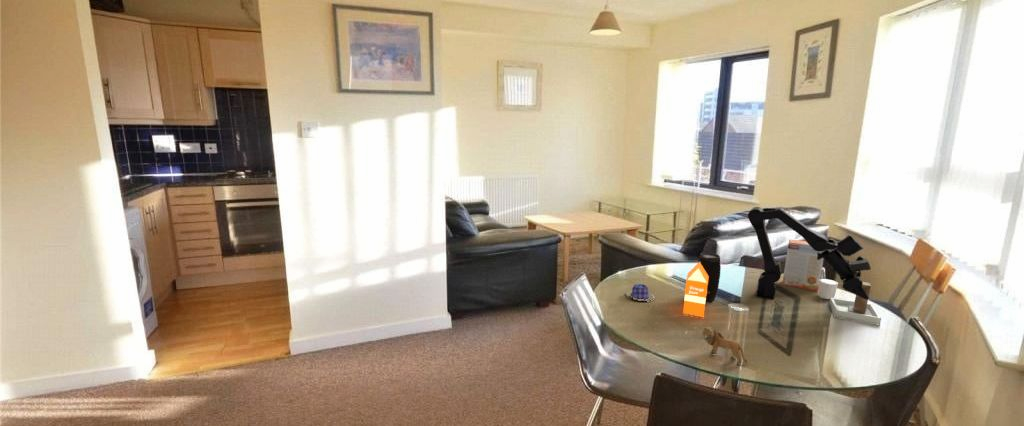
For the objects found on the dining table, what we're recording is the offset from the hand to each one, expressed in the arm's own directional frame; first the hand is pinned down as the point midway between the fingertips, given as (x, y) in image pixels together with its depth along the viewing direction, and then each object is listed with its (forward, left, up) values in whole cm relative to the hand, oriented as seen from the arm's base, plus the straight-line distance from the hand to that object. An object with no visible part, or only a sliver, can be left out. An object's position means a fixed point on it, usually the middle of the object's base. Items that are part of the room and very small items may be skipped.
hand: (866, 295), depth 177 cm
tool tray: (-3, +1, -9) cm, 10 cm away
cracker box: (-19, +25, -9) cm, 32 cm away
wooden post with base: (-1, 0, -8) cm, 8 cm away
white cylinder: (-10, +17, -9) cm, 22 cm away
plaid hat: (-82, -22, -10) cm, 85 cm away
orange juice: (-60, -27, -9) cm, 66 cm away
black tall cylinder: (-57, -11, -9) cm, 59 cm away
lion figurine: (-48, -59, -9) cm, 77 cm away
